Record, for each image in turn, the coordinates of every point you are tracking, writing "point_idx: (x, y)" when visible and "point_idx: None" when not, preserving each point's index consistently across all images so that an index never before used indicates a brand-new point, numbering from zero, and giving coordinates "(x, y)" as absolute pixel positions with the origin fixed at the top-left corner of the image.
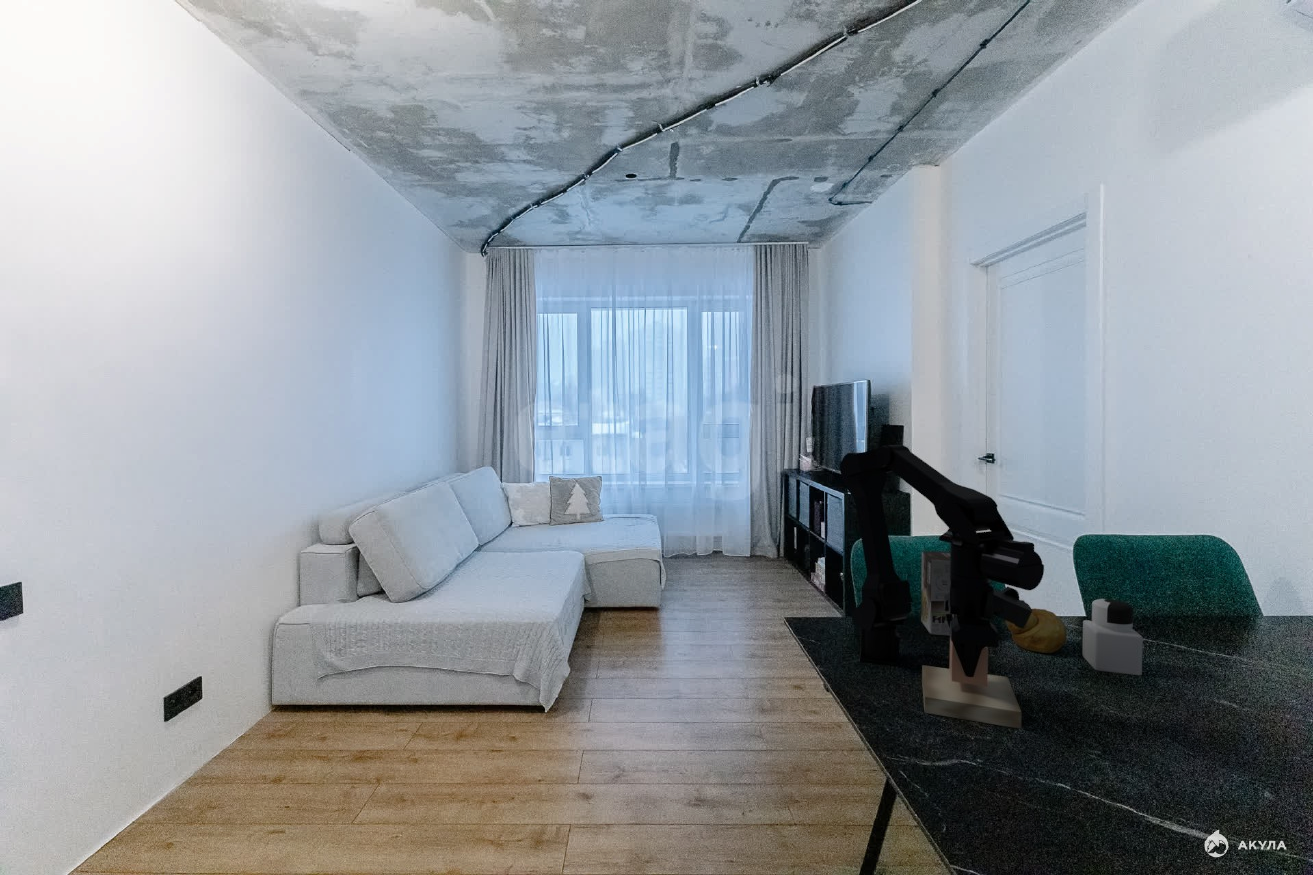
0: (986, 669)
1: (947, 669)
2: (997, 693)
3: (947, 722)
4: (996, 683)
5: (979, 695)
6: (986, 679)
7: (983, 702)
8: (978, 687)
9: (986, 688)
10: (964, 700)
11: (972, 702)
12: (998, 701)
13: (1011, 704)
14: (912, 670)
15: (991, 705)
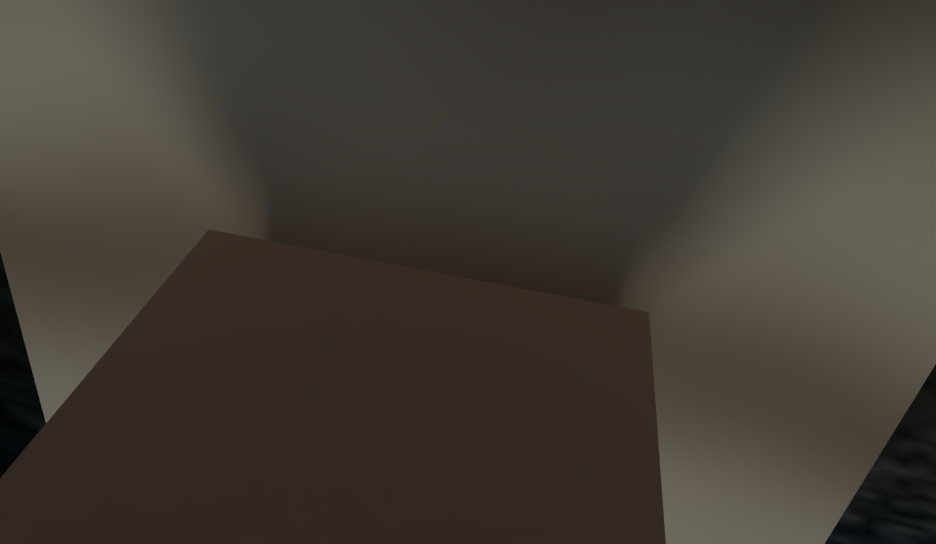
0: (654, 515)
1: (61, 400)
2: (552, 102)
3: (874, 490)
4: (210, 11)
5: (653, 318)
6: (652, 388)
7: (841, 334)
8: (418, 259)
9: (423, 185)
10: (791, 472)
11: (842, 427)
12: (800, 164)
13: (900, 25)
14: (10, 461)
15: (920, 278)
